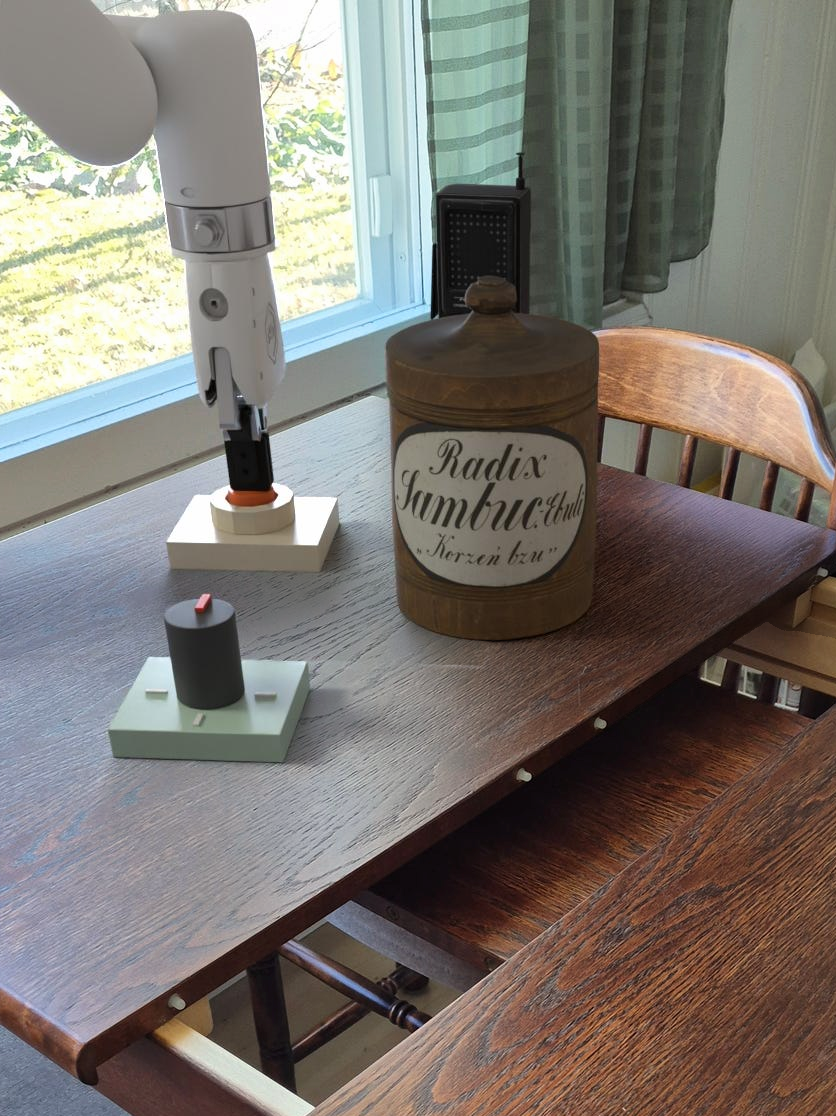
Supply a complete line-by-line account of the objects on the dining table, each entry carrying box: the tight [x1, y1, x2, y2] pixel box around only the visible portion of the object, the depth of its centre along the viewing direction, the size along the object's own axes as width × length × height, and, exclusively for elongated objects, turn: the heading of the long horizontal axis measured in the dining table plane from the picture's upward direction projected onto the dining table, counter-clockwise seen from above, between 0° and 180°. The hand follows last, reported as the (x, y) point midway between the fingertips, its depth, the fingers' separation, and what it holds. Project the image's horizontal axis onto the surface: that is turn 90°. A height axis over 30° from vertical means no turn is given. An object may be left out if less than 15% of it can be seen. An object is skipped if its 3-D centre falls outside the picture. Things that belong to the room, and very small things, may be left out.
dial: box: [163, 593, 245, 709], centre depth 91 cm, size 4×4×6 cm
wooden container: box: [384, 276, 600, 641], centre depth 101 cm, size 15×15×22 cm
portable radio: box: [429, 151, 532, 320], centre depth 118 cm, size 8×6×25 cm
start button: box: [228, 485, 275, 507], centre depth 114 cm, size 4×4×2 cm
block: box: [165, 482, 341, 573], centre depth 115 cm, size 12×10×4 cm
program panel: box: [107, 656, 311, 763], centre depth 94 cm, size 11×10×2 cm
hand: (252, 487), depth 113 cm, fingers closed
